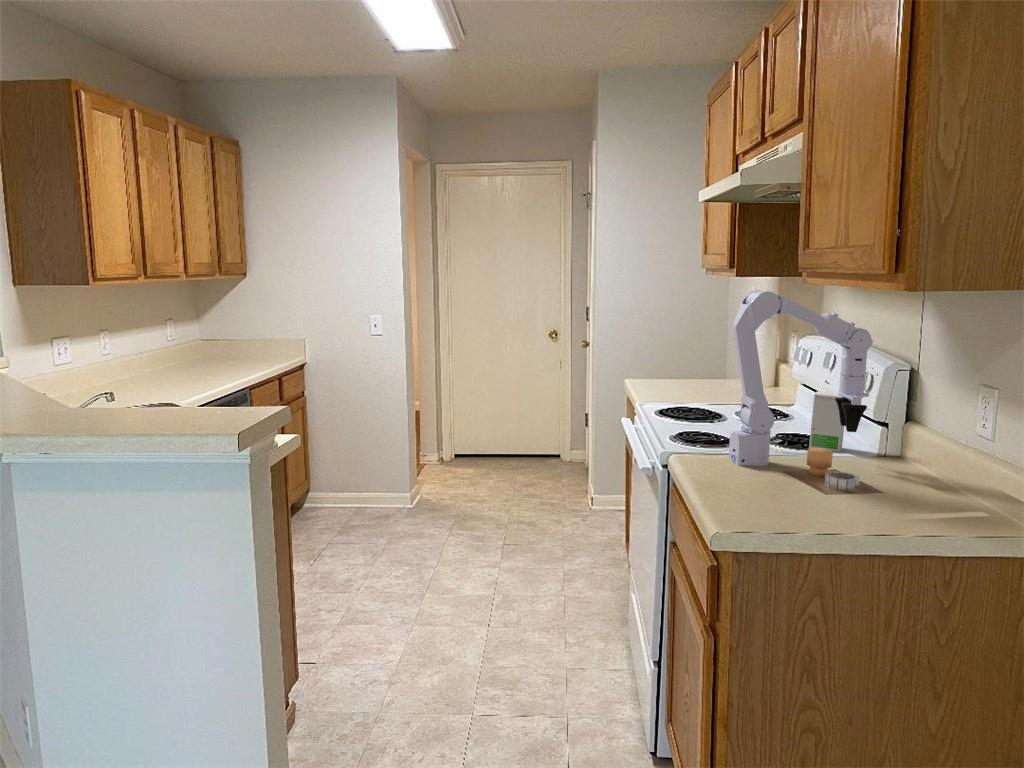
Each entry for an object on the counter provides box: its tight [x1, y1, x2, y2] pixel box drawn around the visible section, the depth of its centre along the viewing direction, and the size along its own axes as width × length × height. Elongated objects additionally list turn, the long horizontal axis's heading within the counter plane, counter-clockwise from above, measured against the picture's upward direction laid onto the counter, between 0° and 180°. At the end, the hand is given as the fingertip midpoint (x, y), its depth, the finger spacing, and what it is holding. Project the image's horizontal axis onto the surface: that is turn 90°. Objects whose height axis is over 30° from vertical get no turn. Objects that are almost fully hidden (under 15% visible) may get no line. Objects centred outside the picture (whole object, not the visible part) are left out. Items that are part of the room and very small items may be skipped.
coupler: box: [806, 447, 834, 477], centre depth 184 cm, size 6×6×6 cm
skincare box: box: [808, 390, 845, 453], centre depth 215 cm, size 8×7×16 cm
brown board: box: [782, 468, 886, 495], centre depth 179 cm, size 14×20×1 cm
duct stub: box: [824, 471, 861, 491], centre depth 174 cm, size 7×7×2 cm
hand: (848, 428), depth 194 cm, fingers open, 7 cm apart
